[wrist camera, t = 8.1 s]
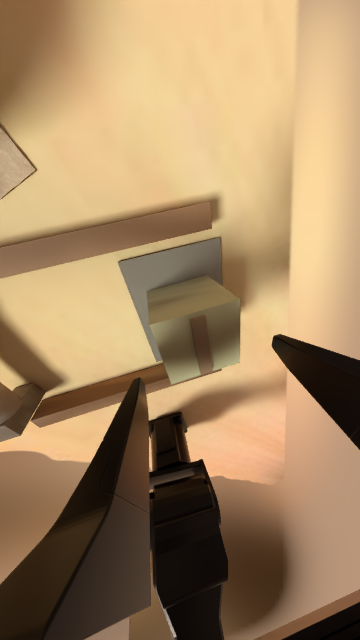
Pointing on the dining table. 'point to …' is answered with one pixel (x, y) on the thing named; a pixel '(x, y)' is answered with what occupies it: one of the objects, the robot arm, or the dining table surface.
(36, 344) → the dining table surface
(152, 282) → the front pad
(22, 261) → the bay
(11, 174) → the condiment
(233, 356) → the block
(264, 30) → the dining table surface
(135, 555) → the robot arm
